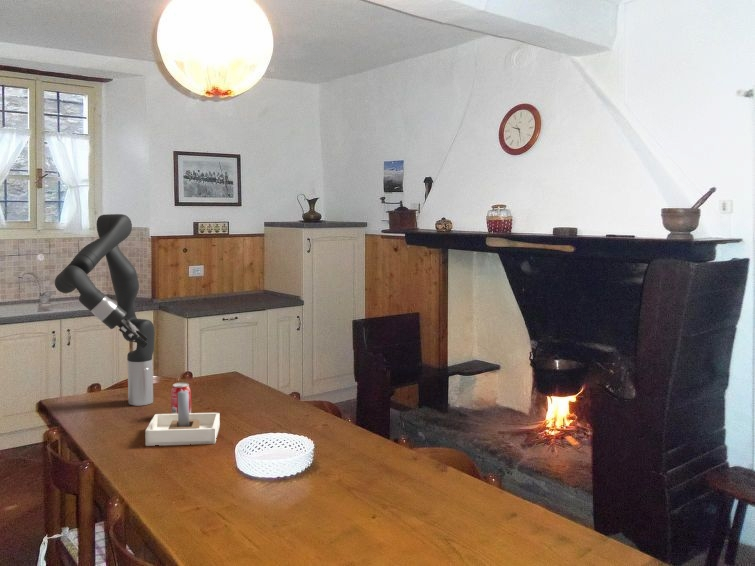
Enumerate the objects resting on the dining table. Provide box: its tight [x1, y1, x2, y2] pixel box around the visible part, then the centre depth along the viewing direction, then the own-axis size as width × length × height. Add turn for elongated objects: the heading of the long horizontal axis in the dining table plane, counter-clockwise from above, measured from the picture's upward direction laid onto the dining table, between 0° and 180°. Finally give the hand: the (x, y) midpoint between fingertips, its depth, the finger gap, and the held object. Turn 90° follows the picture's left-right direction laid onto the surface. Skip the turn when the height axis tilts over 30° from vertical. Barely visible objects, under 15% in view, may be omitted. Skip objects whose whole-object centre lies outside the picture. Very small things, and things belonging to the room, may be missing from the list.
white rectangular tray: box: [144, 412, 221, 447], centre depth 234 cm, size 18×22×5 cm
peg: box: [178, 391, 189, 427], centre depth 234 cm, size 4×4×14 cm
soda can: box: [170, 382, 192, 414], centre depth 255 cm, size 7×7×12 cm
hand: (145, 343), depth 240 cm, fingers open, 8 cm apart
